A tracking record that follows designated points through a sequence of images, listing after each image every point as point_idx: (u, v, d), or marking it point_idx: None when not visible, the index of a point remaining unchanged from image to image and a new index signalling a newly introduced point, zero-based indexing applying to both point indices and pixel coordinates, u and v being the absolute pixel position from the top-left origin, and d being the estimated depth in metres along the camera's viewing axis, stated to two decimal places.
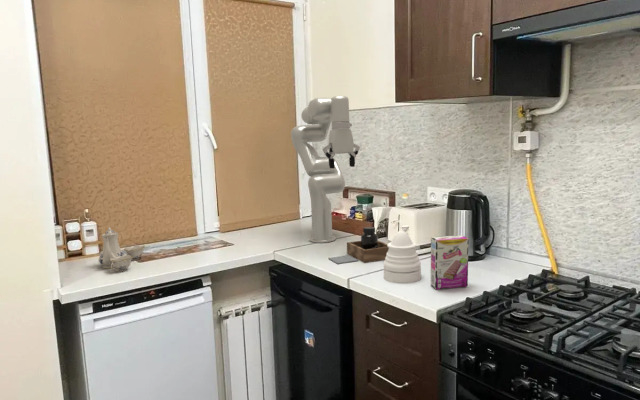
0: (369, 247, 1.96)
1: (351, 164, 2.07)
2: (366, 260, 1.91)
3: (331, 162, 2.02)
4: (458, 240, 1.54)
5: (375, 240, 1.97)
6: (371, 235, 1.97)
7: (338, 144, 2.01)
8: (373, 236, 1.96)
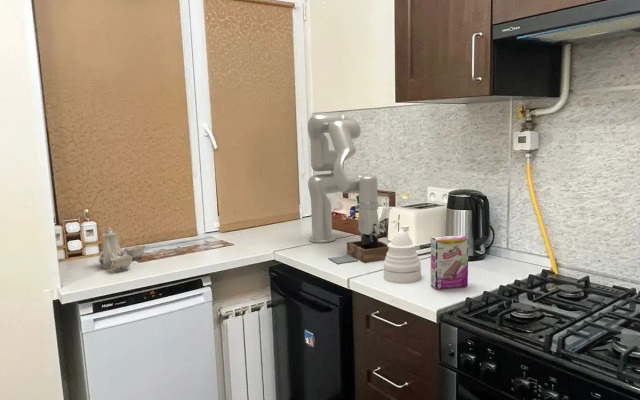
0: (369, 247, 1.96)
1: None
2: (366, 260, 1.91)
3: None
4: (458, 240, 1.54)
5: None
6: None
7: None
8: (373, 236, 1.96)
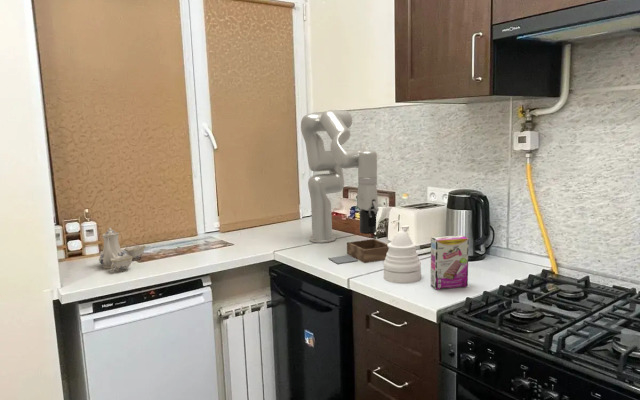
0: (368, 223, 1.95)
1: None
2: (366, 260, 1.91)
3: (374, 220, 1.95)
4: (458, 240, 1.54)
5: None
6: None
7: None
8: None
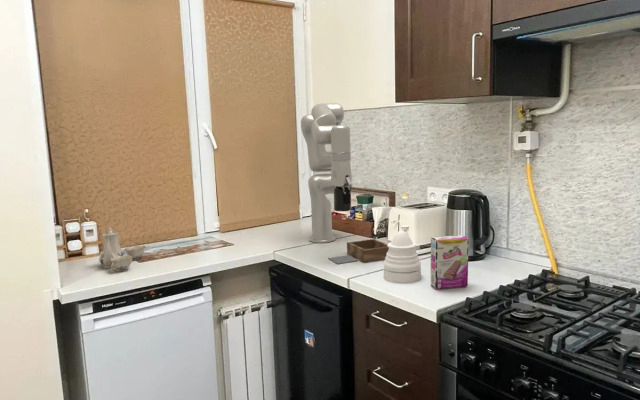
0: (342, 200, 1.89)
1: None
2: (366, 260, 1.91)
3: (349, 197, 1.89)
4: (458, 240, 1.54)
5: None
6: None
7: None
8: None
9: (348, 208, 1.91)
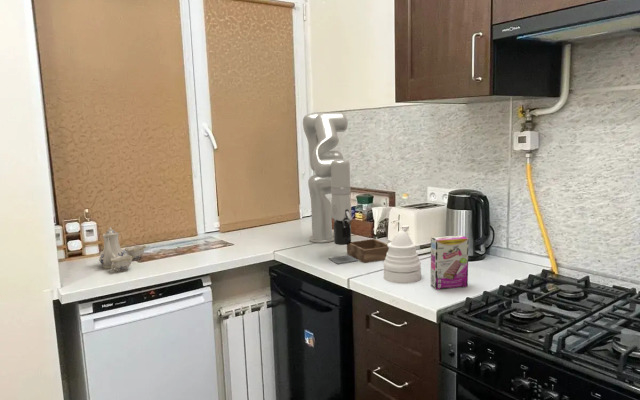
0: None
1: None
2: (366, 260, 1.91)
3: (348, 231, 1.90)
4: (458, 240, 1.54)
5: None
6: None
7: None
8: None
9: (348, 241, 1.92)
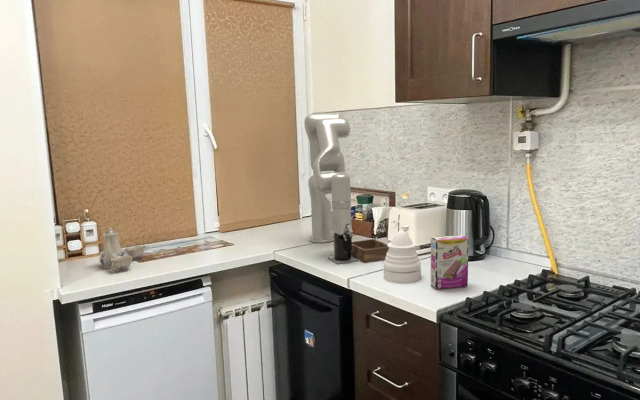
0: (342, 249, 1.92)
1: None
2: (366, 260, 1.91)
3: None
4: (458, 240, 1.54)
5: None
6: None
7: None
8: None
9: (348, 257, 1.93)
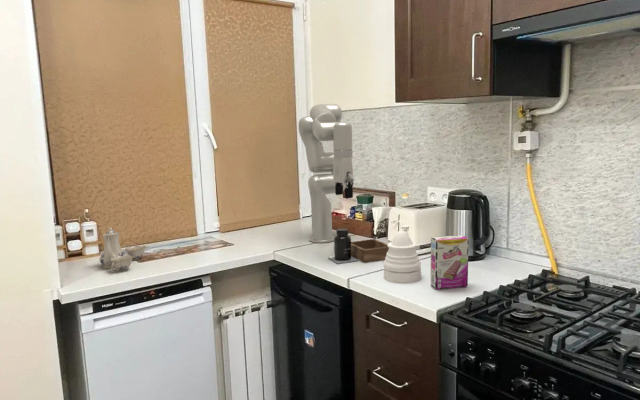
0: (342, 249, 1.92)
1: (340, 192, 2.01)
2: (366, 260, 1.91)
3: None
4: (458, 240, 1.54)
5: (348, 242, 1.93)
6: (343, 237, 1.92)
7: None
8: (346, 238, 1.92)
9: (348, 257, 1.93)
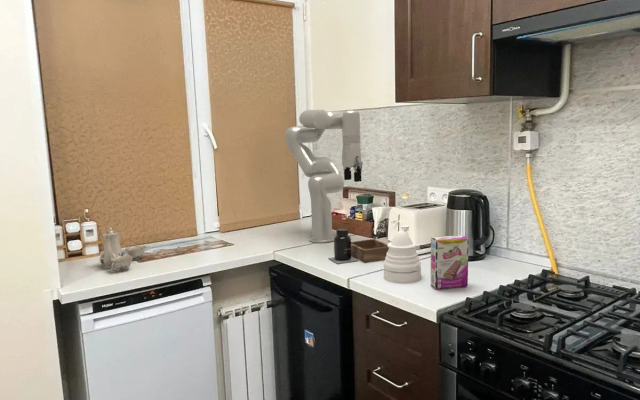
0: (342, 249, 1.92)
1: (348, 177, 2.12)
2: (366, 260, 1.91)
3: (360, 175, 2.03)
4: (458, 240, 1.54)
5: (348, 242, 1.93)
6: (343, 237, 1.92)
7: None
8: (346, 238, 1.92)
9: (348, 257, 1.93)
